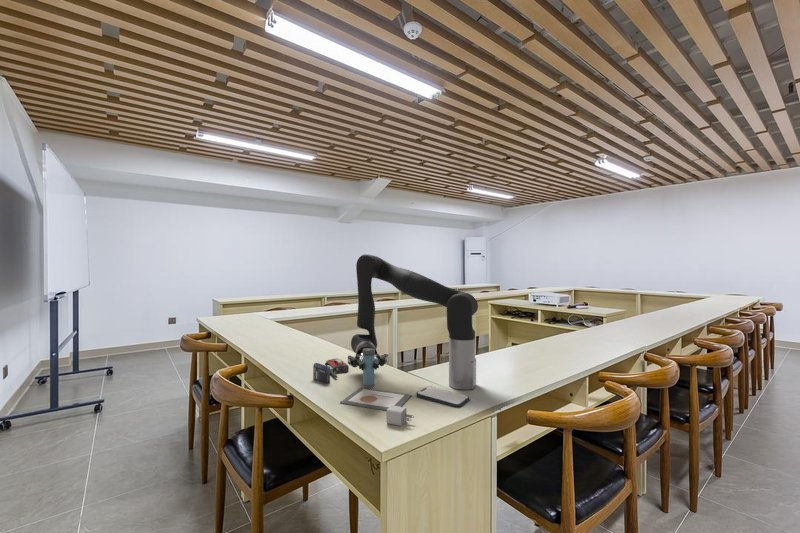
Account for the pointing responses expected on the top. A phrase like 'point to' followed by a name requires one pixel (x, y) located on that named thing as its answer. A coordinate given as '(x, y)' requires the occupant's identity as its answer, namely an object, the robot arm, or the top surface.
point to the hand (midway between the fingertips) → (369, 366)
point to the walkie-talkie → (336, 366)
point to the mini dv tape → (321, 373)
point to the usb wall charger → (397, 415)
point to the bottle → (368, 368)
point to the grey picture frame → (376, 399)
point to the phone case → (443, 397)
